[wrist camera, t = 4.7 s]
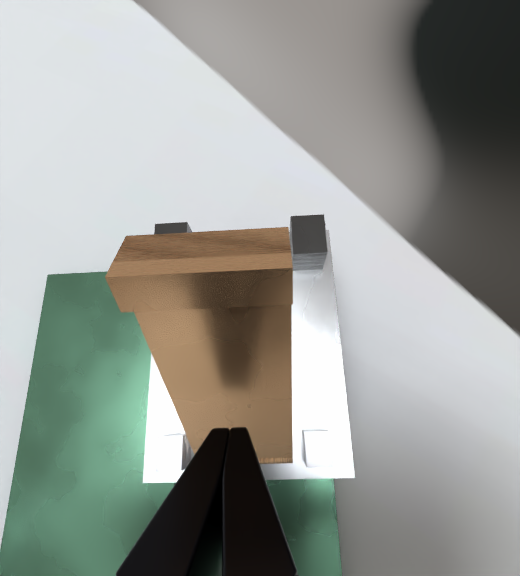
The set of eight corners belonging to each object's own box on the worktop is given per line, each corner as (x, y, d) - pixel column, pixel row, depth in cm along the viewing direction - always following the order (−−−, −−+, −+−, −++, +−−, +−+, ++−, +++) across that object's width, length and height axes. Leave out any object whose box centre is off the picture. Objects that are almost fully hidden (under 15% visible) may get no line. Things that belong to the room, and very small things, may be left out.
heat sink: (346, 636, 15) (407, 850, 8) (-9, 638, 16) (-258, 837, 8) (313, 263, 20) (331, 185, 13) (51, 277, 21) (-67, 209, 14)
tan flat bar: (291, 440, 12) (293, 479, 11) (203, 443, 12) (198, 481, 11) (287, 225, 6) (292, 267, 6) (126, 234, 7) (104, 277, 6)
